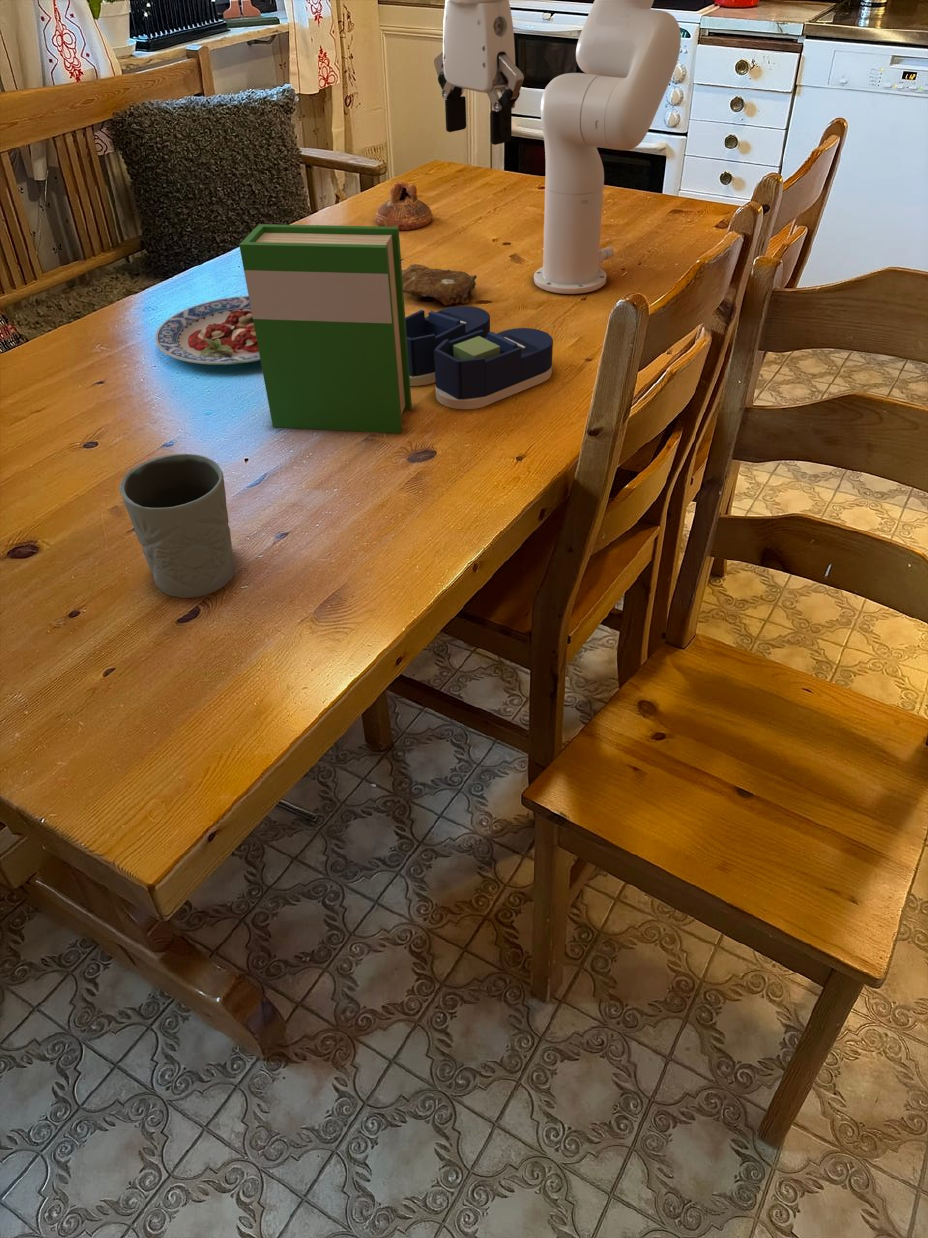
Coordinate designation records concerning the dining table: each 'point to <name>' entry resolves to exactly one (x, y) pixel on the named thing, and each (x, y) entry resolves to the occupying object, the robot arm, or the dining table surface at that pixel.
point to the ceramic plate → (211, 333)
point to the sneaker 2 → (492, 368)
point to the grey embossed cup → (181, 522)
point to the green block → (475, 349)
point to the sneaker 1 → (438, 336)
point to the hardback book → (330, 325)
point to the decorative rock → (438, 284)
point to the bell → (403, 208)
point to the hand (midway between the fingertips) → (478, 136)
